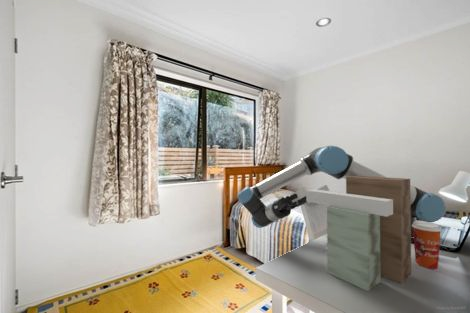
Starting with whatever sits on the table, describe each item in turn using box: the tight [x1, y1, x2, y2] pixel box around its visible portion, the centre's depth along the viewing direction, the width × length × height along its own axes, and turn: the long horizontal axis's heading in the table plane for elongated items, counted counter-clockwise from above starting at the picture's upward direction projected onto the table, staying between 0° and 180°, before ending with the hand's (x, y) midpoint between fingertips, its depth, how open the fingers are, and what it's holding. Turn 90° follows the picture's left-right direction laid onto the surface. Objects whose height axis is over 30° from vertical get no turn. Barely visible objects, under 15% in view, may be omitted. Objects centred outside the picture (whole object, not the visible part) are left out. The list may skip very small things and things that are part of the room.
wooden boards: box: [326, 176, 412, 292], centre depth 68 cm, size 20×16×30 cm
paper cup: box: [412, 220, 443, 270], centre depth 73 cm, size 8×8×14 cm
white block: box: [305, 188, 393, 217], centre depth 68 cm, size 4×25×4 cm, turn 35°
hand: (317, 189), depth 76 cm, fingers open, 13 cm apart
